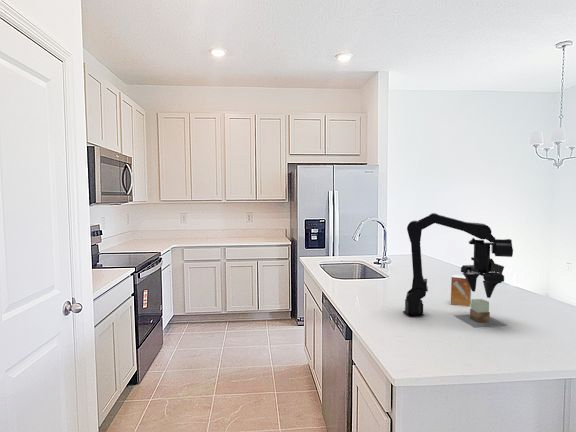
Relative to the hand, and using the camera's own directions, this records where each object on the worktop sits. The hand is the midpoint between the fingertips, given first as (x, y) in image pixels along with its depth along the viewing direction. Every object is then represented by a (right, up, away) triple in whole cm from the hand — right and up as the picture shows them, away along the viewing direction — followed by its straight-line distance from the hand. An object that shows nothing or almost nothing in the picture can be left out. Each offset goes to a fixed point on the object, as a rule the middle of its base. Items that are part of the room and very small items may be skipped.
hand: (480, 294), depth 147 cm
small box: (+3, -10, +23) cm, 25 cm away
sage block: (0, -7, 0) cm, 7 cm away
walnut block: (0, -11, +1) cm, 11 cm away
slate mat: (0, -11, +1) cm, 11 cm away
